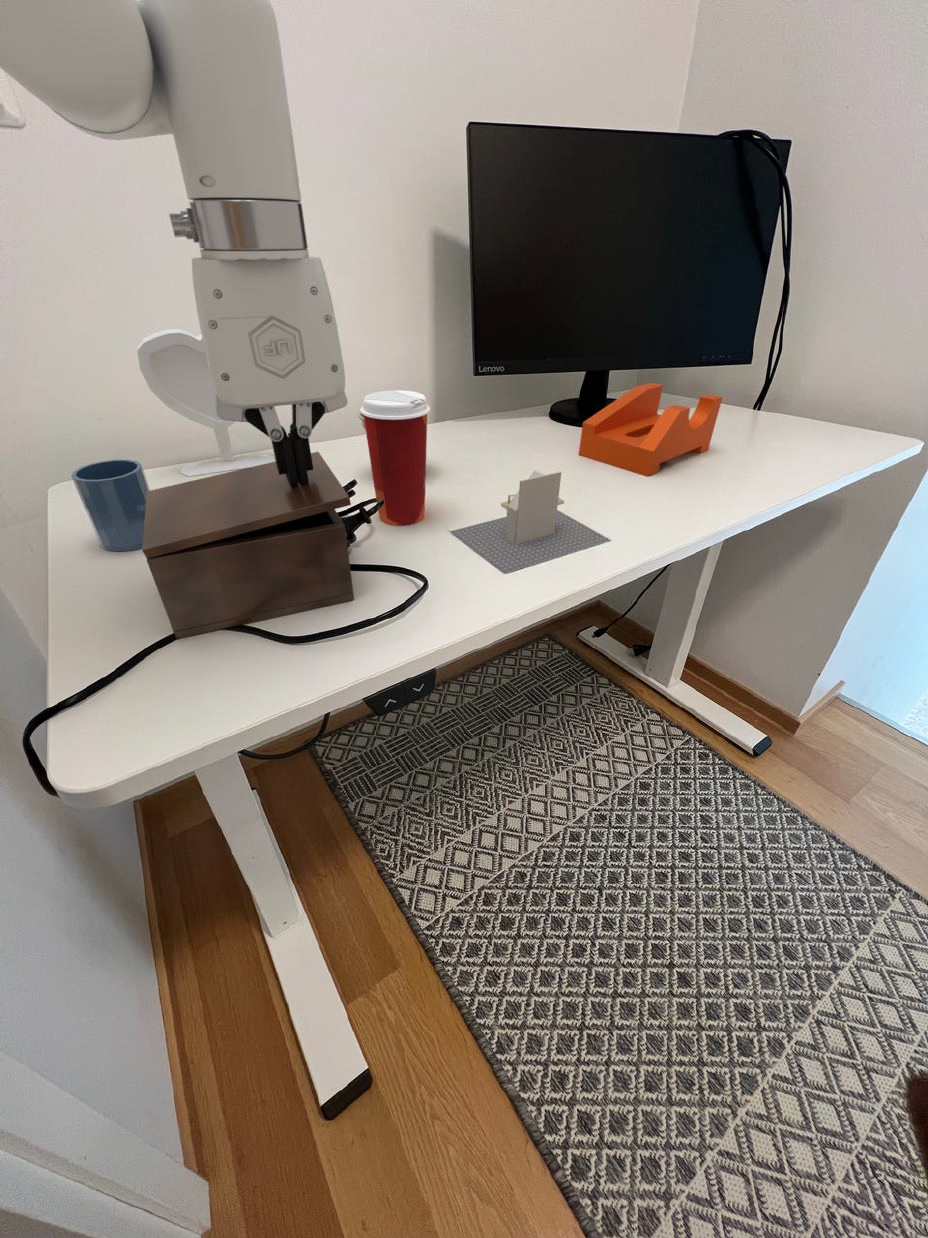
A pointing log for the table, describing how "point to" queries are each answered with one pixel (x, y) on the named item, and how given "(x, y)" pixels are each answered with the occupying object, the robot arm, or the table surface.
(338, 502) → the box lid
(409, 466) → the paper cup
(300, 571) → the box
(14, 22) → the robot arm
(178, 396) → the heart sculpture
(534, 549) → the architectural model
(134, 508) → the cup
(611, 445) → the orange notched block
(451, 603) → the table surface
